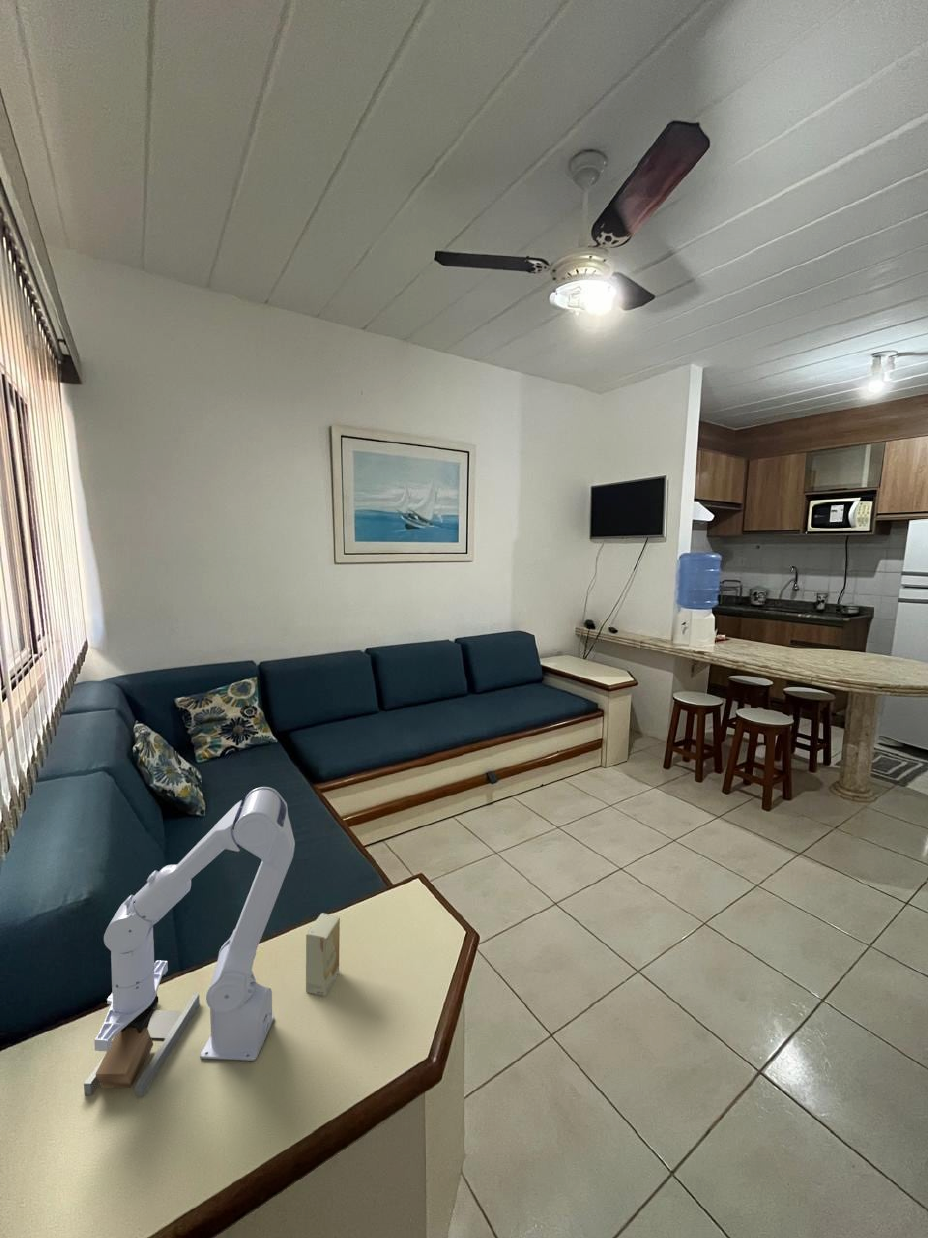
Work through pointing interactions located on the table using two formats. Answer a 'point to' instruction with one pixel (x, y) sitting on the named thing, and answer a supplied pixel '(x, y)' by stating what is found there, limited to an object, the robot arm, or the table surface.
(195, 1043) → the table surface
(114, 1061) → the walnut block
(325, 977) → the skincare box
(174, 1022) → the channel
